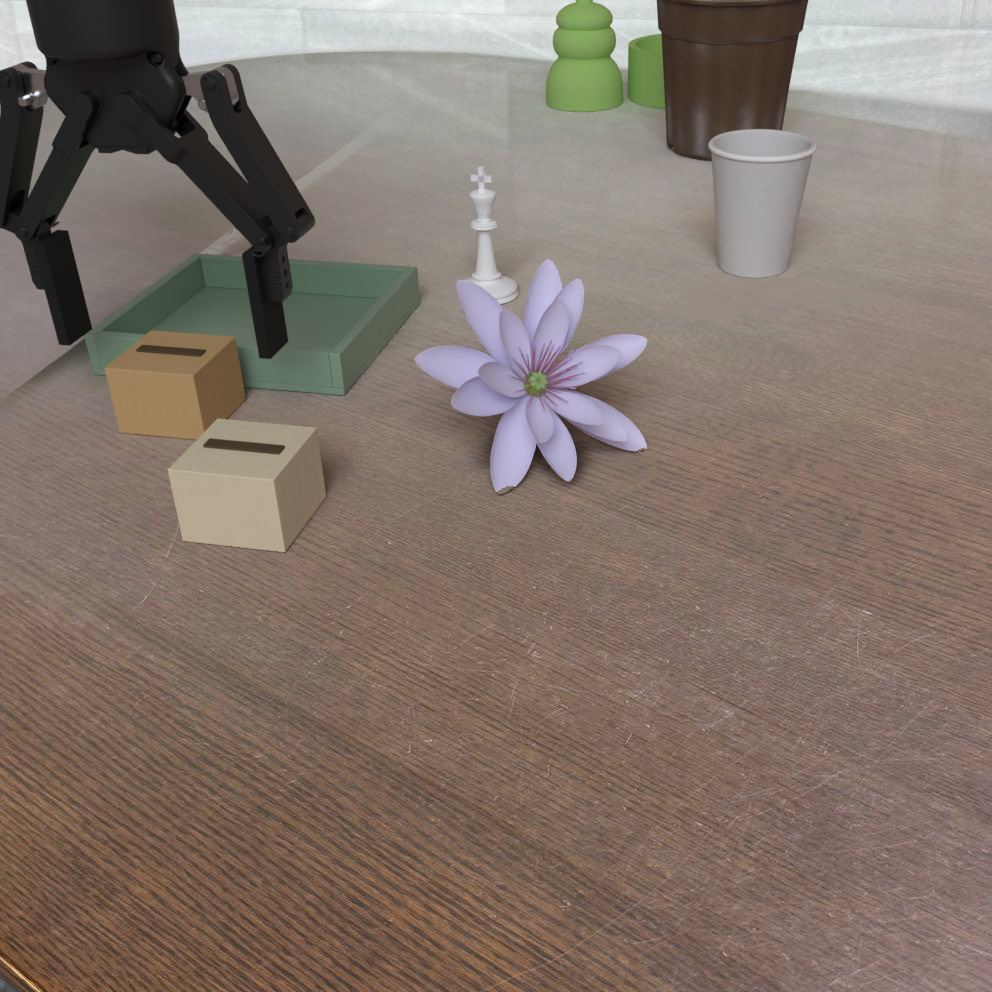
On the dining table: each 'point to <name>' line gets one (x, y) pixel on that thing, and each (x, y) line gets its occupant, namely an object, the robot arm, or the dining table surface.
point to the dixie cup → (758, 198)
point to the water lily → (534, 376)
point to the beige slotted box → (248, 484)
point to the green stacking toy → (600, 63)
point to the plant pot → (726, 67)
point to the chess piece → (488, 243)
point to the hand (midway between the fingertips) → (173, 343)
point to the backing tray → (308, 315)
